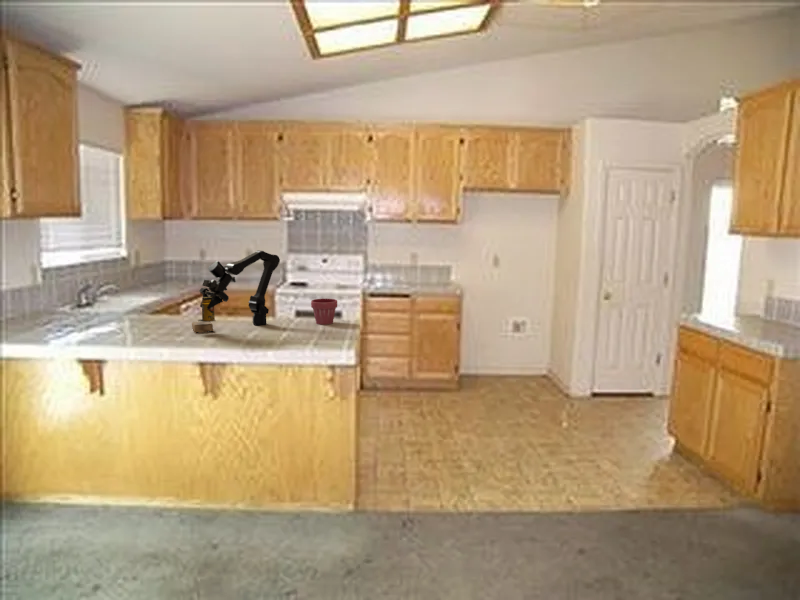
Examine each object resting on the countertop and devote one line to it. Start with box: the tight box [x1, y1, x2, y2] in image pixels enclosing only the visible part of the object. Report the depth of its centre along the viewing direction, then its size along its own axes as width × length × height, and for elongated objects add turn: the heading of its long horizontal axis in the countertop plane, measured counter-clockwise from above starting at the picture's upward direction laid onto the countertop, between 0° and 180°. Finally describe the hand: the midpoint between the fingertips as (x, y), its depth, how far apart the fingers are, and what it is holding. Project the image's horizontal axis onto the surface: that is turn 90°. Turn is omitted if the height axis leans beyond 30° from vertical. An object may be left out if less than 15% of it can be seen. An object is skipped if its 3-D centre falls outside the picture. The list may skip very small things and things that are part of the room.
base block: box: [191, 321, 214, 333], centre depth 334 cm, size 9×9×4 cm
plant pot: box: [310, 298, 338, 326], centre depth 357 cm, size 14×14×13 cm
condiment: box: [197, 296, 216, 323], centre depth 327 cm, size 7×8×12 cm
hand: (204, 307), depth 325 cm, fingers closed on condiment, 6 cm apart
